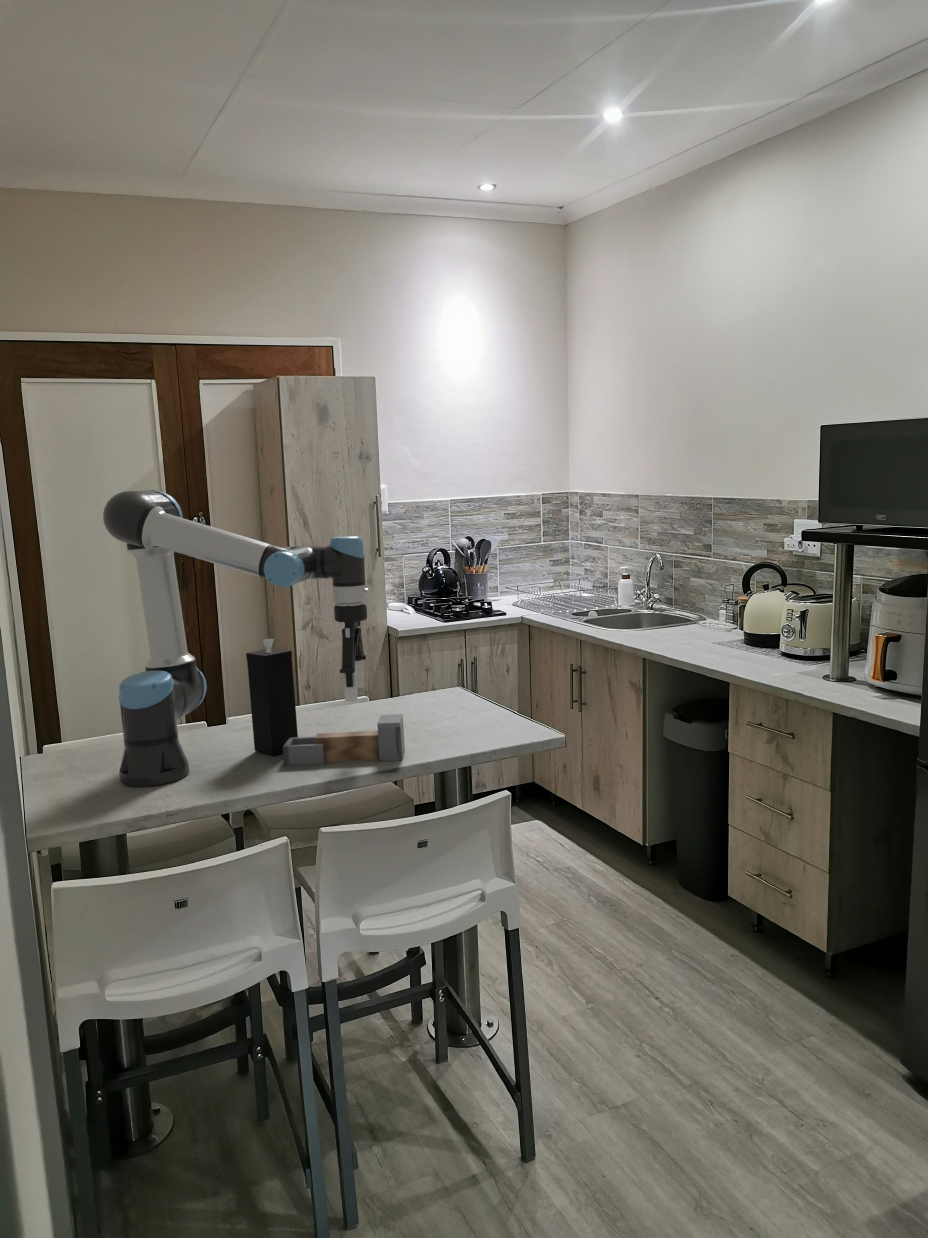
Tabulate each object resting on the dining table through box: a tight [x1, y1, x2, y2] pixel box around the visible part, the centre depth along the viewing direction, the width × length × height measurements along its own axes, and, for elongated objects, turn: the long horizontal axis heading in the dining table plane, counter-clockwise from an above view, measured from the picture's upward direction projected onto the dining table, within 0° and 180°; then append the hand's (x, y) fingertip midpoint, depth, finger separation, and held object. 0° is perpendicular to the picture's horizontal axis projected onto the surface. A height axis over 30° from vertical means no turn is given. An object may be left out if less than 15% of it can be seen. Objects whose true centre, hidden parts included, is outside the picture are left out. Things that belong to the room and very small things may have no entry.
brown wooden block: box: [314, 730, 380, 763], centre depth 217 cm, size 18×4×6 cm, turn 90°
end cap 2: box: [376, 713, 406, 762], centre depth 216 cm, size 5×8×9 cm, turn 179°
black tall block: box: [245, 638, 299, 757], centre depth 225 cm, size 8×8×28 cm
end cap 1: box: [282, 736, 326, 767], centre depth 217 cm, size 9×8×4 cm
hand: (355, 694), depth 215 cm, fingers open, 13 cm apart
